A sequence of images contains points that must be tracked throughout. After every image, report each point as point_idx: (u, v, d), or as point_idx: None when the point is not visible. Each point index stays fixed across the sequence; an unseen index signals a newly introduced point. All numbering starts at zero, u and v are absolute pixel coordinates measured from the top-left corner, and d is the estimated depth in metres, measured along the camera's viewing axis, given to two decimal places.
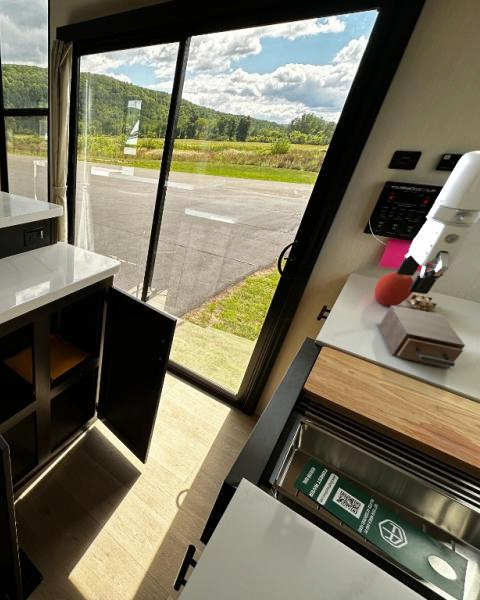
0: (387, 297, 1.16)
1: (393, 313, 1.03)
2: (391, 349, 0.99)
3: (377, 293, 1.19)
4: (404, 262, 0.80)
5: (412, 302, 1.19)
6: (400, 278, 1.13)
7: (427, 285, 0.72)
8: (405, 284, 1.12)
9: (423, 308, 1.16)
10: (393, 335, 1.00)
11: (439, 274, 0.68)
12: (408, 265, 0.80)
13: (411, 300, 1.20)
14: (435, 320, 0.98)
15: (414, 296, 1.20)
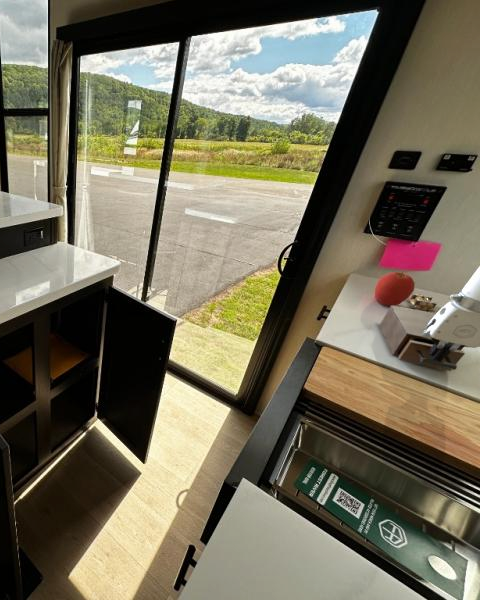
0: (387, 297, 1.16)
1: (393, 313, 1.03)
2: (391, 349, 0.99)
3: (377, 293, 1.19)
4: None
5: (412, 302, 1.19)
6: (400, 278, 1.13)
7: (432, 350, 0.88)
8: (405, 284, 1.12)
9: (423, 308, 1.16)
10: (393, 335, 1.00)
11: (432, 339, 0.87)
12: None
13: (411, 300, 1.20)
14: None
15: (414, 296, 1.20)
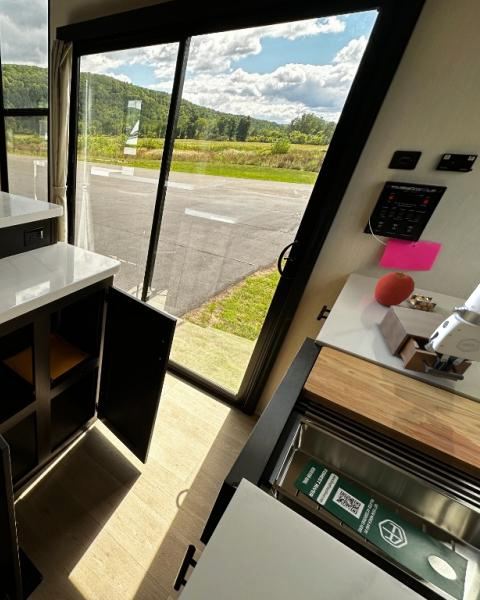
0: (387, 297, 1.16)
1: (393, 313, 1.03)
2: (391, 349, 0.99)
3: (377, 293, 1.19)
4: None
5: (412, 302, 1.19)
6: (400, 278, 1.13)
7: (436, 363, 0.86)
8: (405, 284, 1.12)
9: (423, 308, 1.16)
10: (393, 335, 1.00)
11: (436, 353, 0.84)
12: None
13: (411, 300, 1.20)
14: (435, 320, 0.98)
15: (414, 296, 1.20)
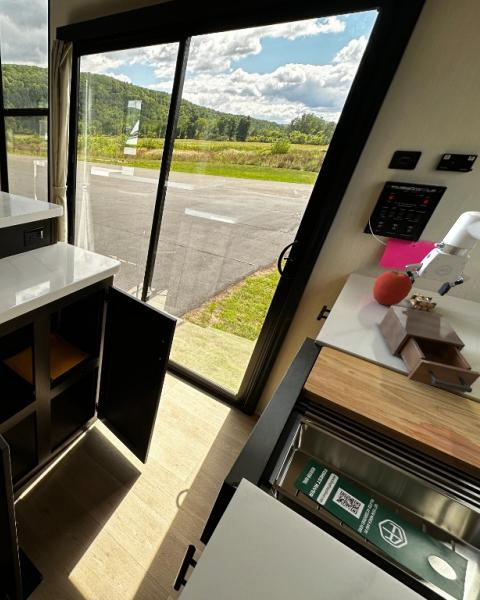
0: (386, 296, 1.16)
1: (393, 313, 1.03)
2: (391, 349, 0.99)
3: (375, 293, 1.19)
4: (443, 284, 1.15)
5: (412, 302, 1.19)
6: (396, 276, 1.14)
7: None
8: (402, 282, 1.13)
9: (423, 308, 1.16)
10: (393, 335, 1.00)
11: (407, 272, 1.16)
12: (443, 287, 1.14)
13: (411, 300, 1.20)
14: (435, 320, 0.98)
15: (414, 296, 1.20)
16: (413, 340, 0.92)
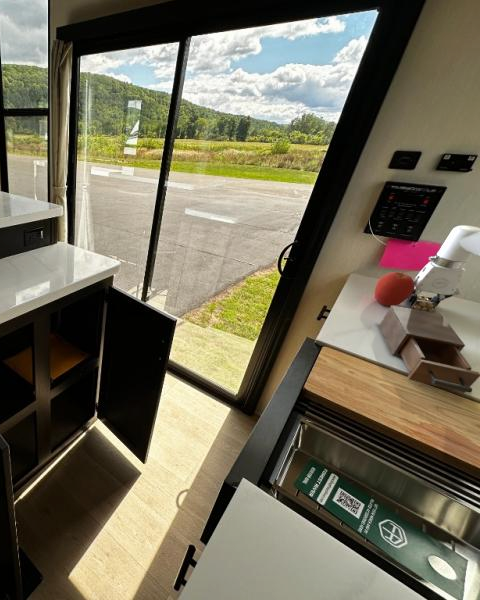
0: (387, 297, 1.16)
1: (393, 313, 1.03)
2: (391, 349, 0.99)
3: (377, 293, 1.19)
4: (433, 297, 1.17)
5: None
6: (400, 278, 1.13)
7: (409, 298, 1.19)
8: (405, 284, 1.12)
9: (423, 308, 1.16)
10: (393, 335, 1.00)
11: None
12: (433, 300, 1.17)
13: None
14: (435, 320, 0.98)
15: None
16: (413, 340, 0.92)
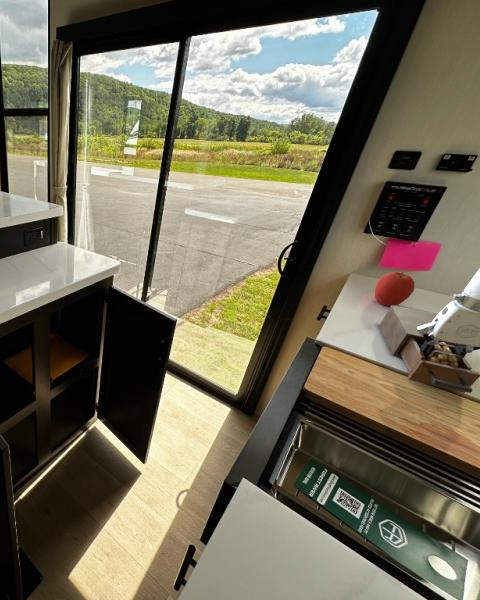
0: (387, 297, 1.16)
1: (393, 313, 1.03)
2: (391, 349, 0.99)
3: (377, 293, 1.19)
4: (456, 347, 0.86)
5: None
6: (400, 278, 1.13)
7: (424, 347, 0.88)
8: (405, 284, 1.12)
9: (443, 362, 0.85)
10: (393, 335, 1.00)
11: (423, 336, 0.87)
12: (456, 351, 0.86)
13: None
14: None
15: None
16: (413, 340, 0.92)
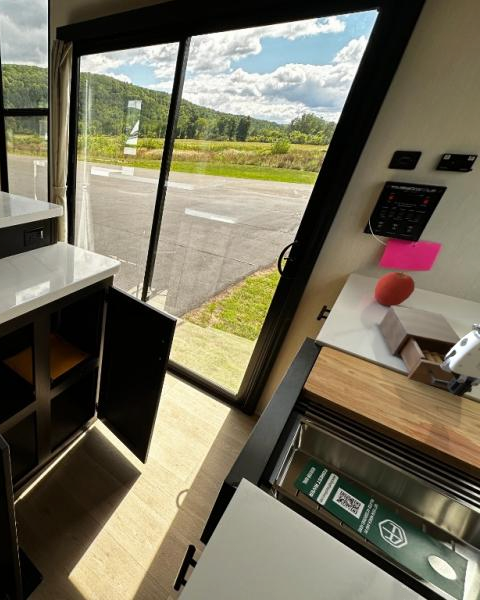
0: (387, 297, 1.16)
1: (393, 313, 1.03)
2: (391, 349, 0.99)
3: (377, 293, 1.19)
4: None
5: None
6: (400, 278, 1.13)
7: (452, 384, 0.78)
8: (405, 284, 1.12)
9: None
10: (393, 335, 1.00)
11: (452, 372, 0.77)
12: None
13: None
14: (435, 320, 0.98)
15: None
16: (413, 340, 0.92)
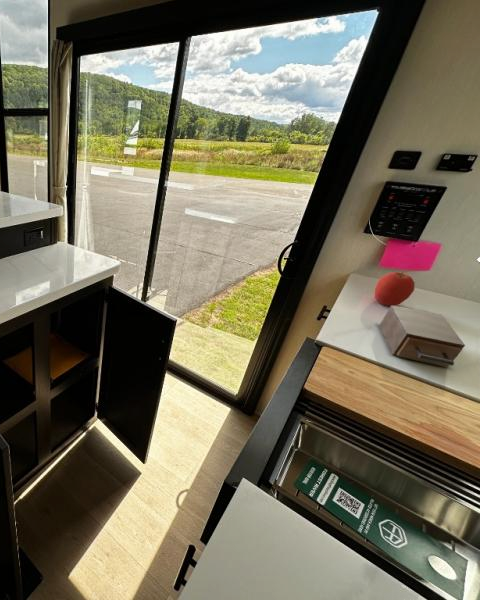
0: (387, 297, 1.16)
1: (393, 313, 1.03)
2: (391, 349, 0.99)
3: (377, 293, 1.19)
4: None
5: None
6: (400, 278, 1.13)
7: None
8: (405, 284, 1.12)
9: None
10: (393, 335, 1.00)
11: None
12: None
13: None
14: (435, 320, 0.98)
15: None
16: None
